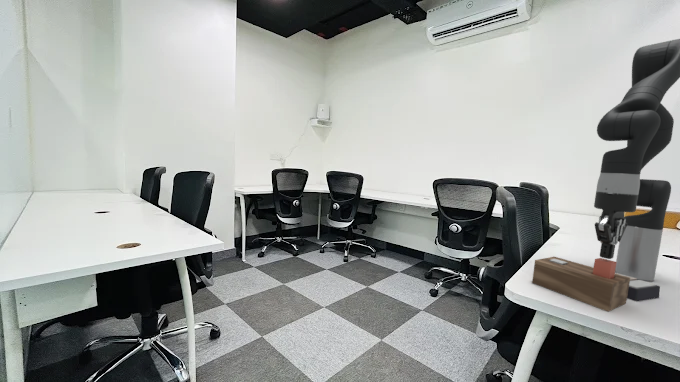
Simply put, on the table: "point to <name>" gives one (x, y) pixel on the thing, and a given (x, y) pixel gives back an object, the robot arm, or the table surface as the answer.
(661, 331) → the table surface
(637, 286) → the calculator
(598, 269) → the red plug
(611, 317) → the table surface
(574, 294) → the block
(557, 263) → the grey plug
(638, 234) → the robot arm
